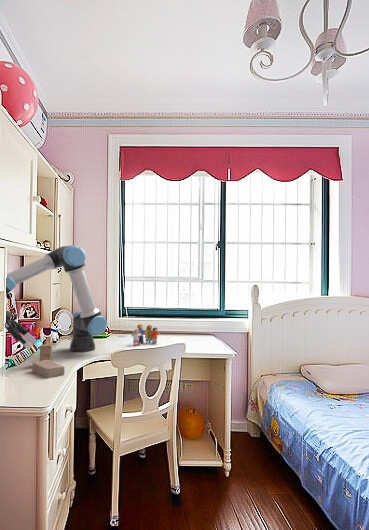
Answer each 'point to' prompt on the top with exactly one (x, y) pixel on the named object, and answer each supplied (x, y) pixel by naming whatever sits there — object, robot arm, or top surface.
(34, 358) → the top surface
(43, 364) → the brick
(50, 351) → the walnut block
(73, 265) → the robot arm
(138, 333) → the doll family
